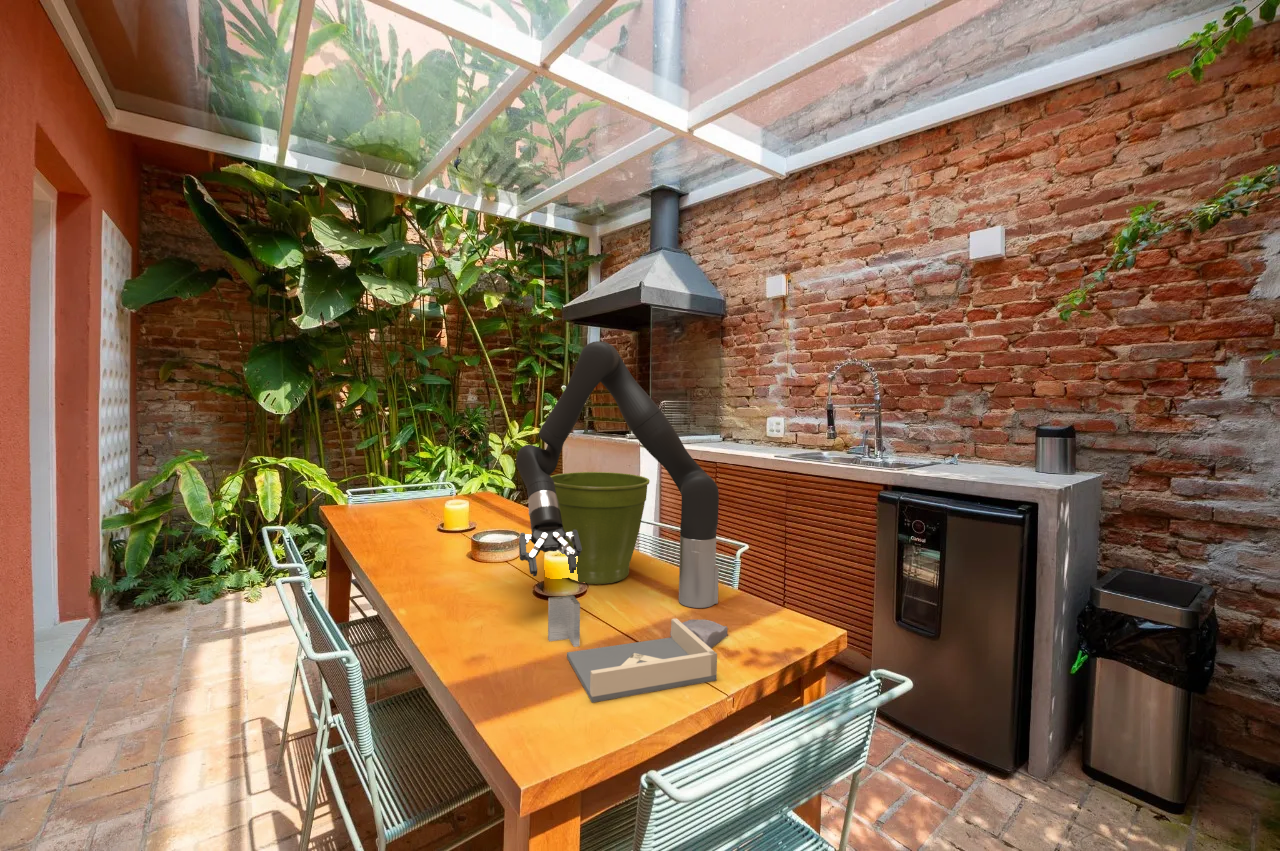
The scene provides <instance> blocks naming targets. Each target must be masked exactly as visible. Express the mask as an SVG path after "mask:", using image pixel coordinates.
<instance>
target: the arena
mask: <svg viewBox="0 0 1280 851" xmlns="http://www.w3.org/2000/svg"><path fill="white" fill-rule="evenodd" d="M670 622H671V623H670V624H671V626H670V632H671V636H672V638H671V636H670V637H665V638H657V639H650V640H644V641H637V642H630V643H622V644H617V645H610V646H609V645H608V646H602V647H596V648H589V649H582V650H575V651H569V652H566V658H567V660H568V662H569V664H570V666H571V667H572V670H573V671H574V672H575V675H576V676H577V678H578V680H579V682H580V683H581V685H582V687H583V689H584V691H585V693H586V694H587V697H588V698H589V699H590V701H591V703H596V702H603V701H607V700H608V701H609V700H614V699H618V698H626V697H631V696H636V695H642V694H648V693H653V692H658V691H665V690H671V689H675V688H681V687H687V686H692V685H697V684H703V683H709V682H714V681H717V676H718V673H717V672H718V653H717V652H716V651H714V650H713V649H712V648H710V647H709V646H708V645H707V644H705V643H704V642H703V641H702V640H701V639H700V638H698V637H697V636H696V635H695V634H694V633H693V632H692V631H690V630H689V629H688V628H687V627H686V626H685V625H684V624H682V623H683V622H681V621H680V620H679V619H678V618H671V621H670Z"/></svg>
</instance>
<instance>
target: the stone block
mask: <svg viewBox="0 0 1280 851" xmlns="http://www.w3.org/2000/svg"><path fill="white" fill-rule="evenodd" d="M681 623H682V624H684V625H685V626H686V627H687V628H688V629H689V630H690V631H692V632H693V633H694V634H695V635H696V636H697V637H698V638H700V639H701V640H702V641H703V642H704V643H705V644H707V645H708V646H709V647H710V648H711V649H712V648H714V647H715V646H716V645H718V644H719V643H720V642H722V641H723V640H724V639H725V638H726V636H728V630H729V628H728V626H726V625H721V624H720V623H719V622H718V623H717V622H716V621H712V620H710V619H709V620H708V619H698V618H697V619H688V620H686V621H684V622H681ZM669 633H670V637H671V638H672V636H671V631H670V632H669Z"/></svg>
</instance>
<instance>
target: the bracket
mask: <svg viewBox="0 0 1280 851" xmlns="http://www.w3.org/2000/svg"><path fill="white" fill-rule="evenodd" d="M547 601H548V603H547V604H548V608H547V609H548V610H547V611H548V612H547V615H548V616H547V617H548V618H547V622H548V623H547V640H548V642H554V641H555V642H556V641H563V640H569V642H570V643H571V645H572V646H573V647H574V648H576V647H580V646H581V644H580V641H581V640H580V639H581V638H580V637H581V636H580V635H581V629H580V628H581V626H580V625H581V603H580V601H579V600H578V599H577V598H576V597H575V595H573V594H572V595H563V596H555V597H554V596H553V597H548V600H547Z"/></svg>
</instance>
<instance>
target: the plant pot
mask: <svg viewBox="0 0 1280 851" xmlns="http://www.w3.org/2000/svg"><path fill="white" fill-rule="evenodd" d="M549 476H550V477H552V479H553V481H554V484H555V490H556V495H557V499H558V502H559V507H560V512H561V518H562V523H563V529H564V531H565V532H572V531H573V530H574V529H575V530H577V532H578V535H579V539H580V543H581V547H582V551H581V553H580V556H578V562H577V574H578V581H579V582H578V583H580V582H585V583H584V584H586V583H587V584H588V585H605V584H612V583H617V582H620V581H623V580H624V579H626V578H627V577H628V576H629V574H630V564H631V560H632V558H633V554H634V551H635V548H636V545H637V540H638V536H639V533H640V529H641V523H642V518H643V513H644V509H645V502H646V501H647V495H648V494H647V493H648V485H649V484H650V482H651V481H650V479H649V478H647V477H645V476H642V475H639V474H638V475H636V474H633V473H632V474H631V473H624V472H623V473H622V472H620V473H619V472H606V471H604V472H603V471H581V472H578V471H576V472H566V473H558V474H553V475H549ZM565 541H566V542H567V543H568V544H569V546H570V547H571V548H572V549H573V550H574V548H573V544H572V541H570V540H569V539H568V538H566V539H565ZM561 546H562V545H561Z"/></svg>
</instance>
